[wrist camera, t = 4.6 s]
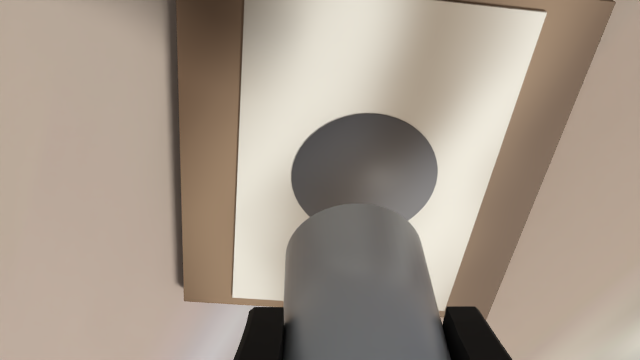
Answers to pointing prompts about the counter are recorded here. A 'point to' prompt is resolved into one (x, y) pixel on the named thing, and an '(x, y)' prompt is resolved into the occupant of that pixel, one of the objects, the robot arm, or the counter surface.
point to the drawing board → (370, 128)
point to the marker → (359, 289)
